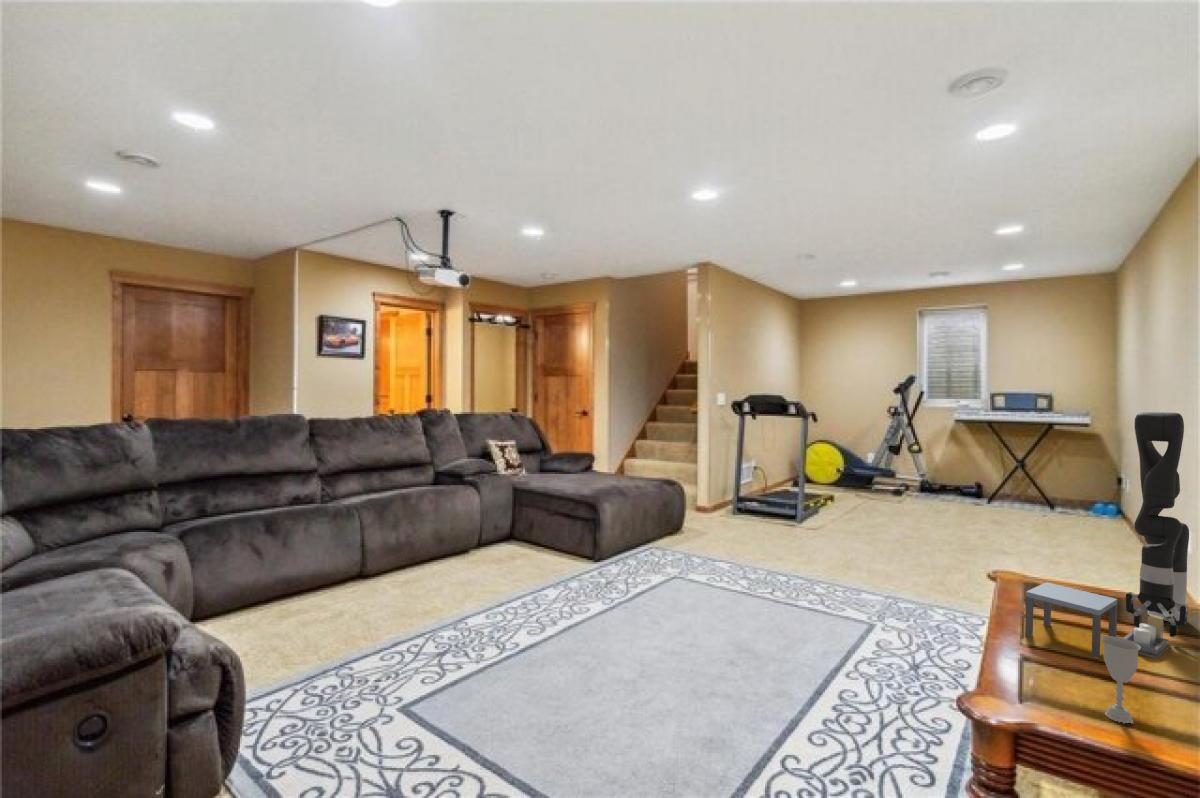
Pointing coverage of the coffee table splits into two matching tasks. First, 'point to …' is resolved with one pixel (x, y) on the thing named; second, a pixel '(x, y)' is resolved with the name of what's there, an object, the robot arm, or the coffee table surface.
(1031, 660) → the coffee table surface
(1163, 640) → the tray
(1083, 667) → the coffee table surface
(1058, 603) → the grey side table
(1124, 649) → the chalice
